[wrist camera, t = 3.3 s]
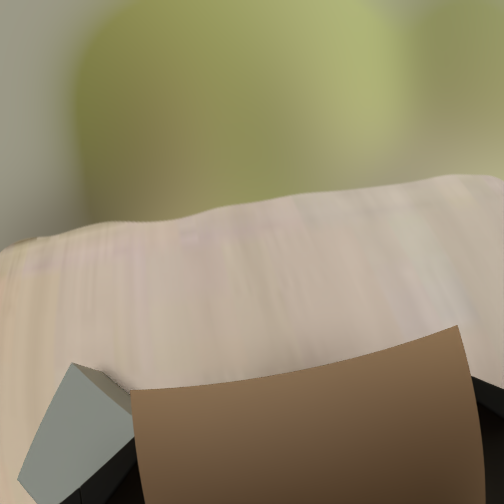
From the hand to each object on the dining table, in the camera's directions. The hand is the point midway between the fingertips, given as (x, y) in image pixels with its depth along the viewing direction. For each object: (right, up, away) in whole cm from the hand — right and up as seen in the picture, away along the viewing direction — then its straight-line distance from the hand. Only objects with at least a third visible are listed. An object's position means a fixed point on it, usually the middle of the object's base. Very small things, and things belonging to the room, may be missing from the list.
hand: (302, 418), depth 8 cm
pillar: (+1, -4, +5) cm, 7 cm away
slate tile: (-9, -8, +5) cm, 13 cm away
